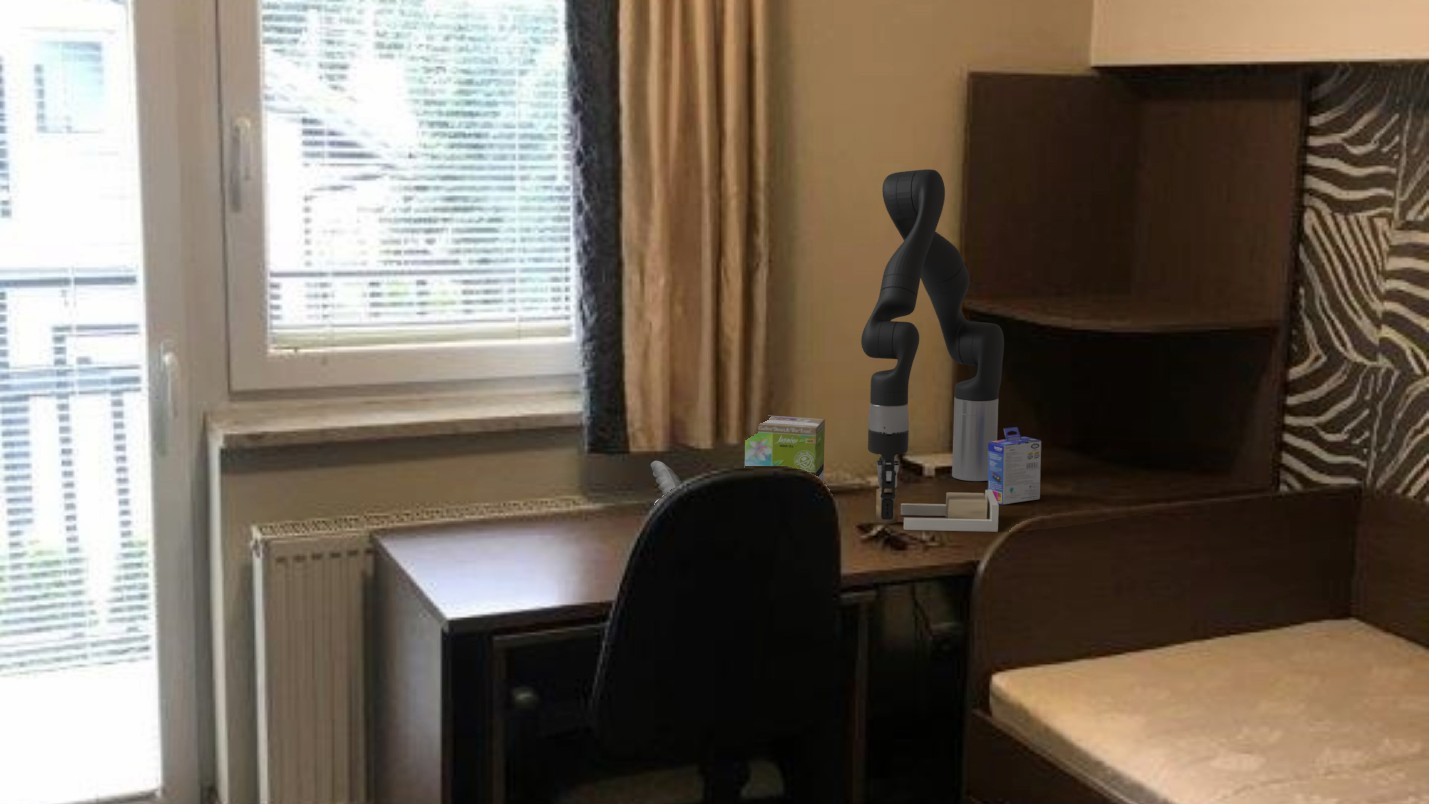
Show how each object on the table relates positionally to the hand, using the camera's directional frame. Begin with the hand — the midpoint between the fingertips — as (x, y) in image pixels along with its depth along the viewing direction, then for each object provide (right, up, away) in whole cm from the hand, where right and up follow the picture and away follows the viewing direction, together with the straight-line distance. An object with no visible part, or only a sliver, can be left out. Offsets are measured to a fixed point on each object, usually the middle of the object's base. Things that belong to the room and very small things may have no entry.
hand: (886, 515), depth 292 cm
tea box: (-18, +3, +26) cm, 32 cm away
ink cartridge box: (+27, +2, +18) cm, 33 cm away
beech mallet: (+8, -1, 0) cm, 8 cm away
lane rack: (+11, -1, -1) cm, 11 cm away
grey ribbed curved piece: (-42, -1, +3) cm, 42 cm away
